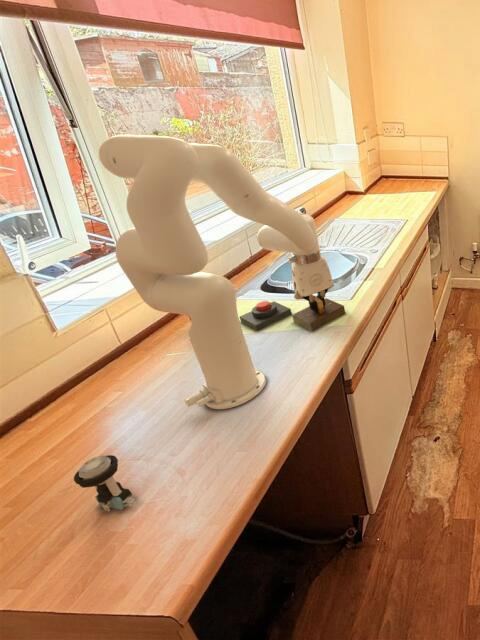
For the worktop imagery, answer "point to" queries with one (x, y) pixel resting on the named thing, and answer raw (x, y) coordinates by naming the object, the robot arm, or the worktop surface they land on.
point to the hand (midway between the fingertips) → (318, 309)
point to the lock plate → (318, 315)
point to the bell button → (263, 306)
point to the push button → (104, 482)
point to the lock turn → (319, 304)
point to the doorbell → (265, 316)
